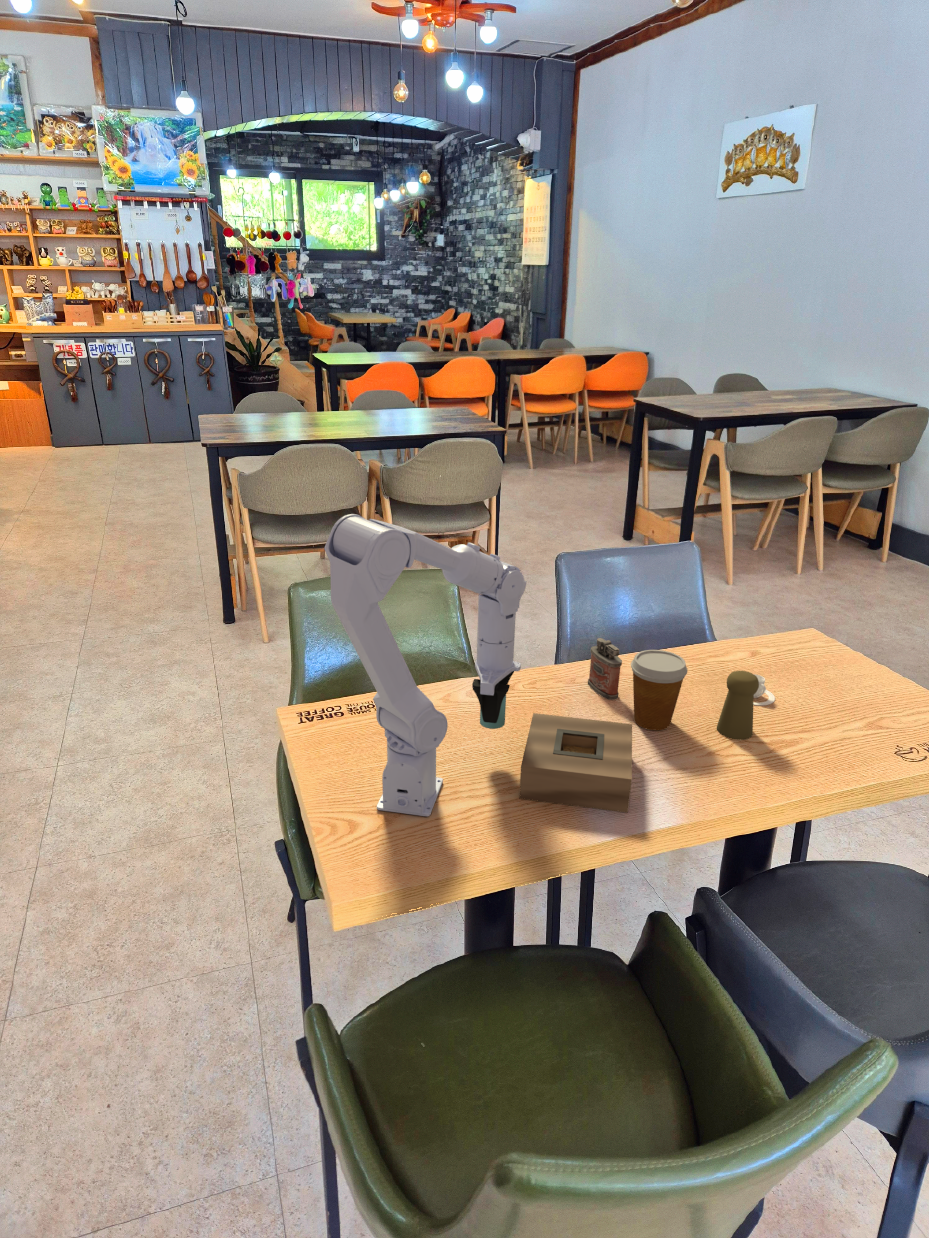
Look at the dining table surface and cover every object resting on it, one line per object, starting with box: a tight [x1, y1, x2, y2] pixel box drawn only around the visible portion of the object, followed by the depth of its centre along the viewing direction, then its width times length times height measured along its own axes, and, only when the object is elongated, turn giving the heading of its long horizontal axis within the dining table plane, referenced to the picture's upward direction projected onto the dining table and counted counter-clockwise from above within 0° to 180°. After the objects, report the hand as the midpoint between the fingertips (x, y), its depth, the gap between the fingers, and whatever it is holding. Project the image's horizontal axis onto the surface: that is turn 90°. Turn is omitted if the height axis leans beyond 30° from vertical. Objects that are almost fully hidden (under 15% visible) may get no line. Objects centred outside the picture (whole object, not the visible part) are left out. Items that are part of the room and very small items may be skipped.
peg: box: [479, 694, 507, 730], centre depth 131 cm, size 4×4×5 cm
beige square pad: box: [563, 745, 595, 754], centre depth 128 cm, size 5×5×1 cm
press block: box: [518, 712, 633, 814], centre depth 128 cm, size 16×16×6 cm
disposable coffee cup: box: [630, 649, 689, 731], centre depth 143 cm, size 10×10×12 cm
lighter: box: [587, 637, 623, 701], centre depth 154 cm, size 8×3×10 cm, turn 25°
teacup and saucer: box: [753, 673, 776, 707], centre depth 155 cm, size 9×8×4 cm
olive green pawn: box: [716, 670, 759, 741], centre depth 141 cm, size 6×6×11 cm
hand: (492, 714), depth 131 cm, fingers closed on peg, 4 cm apart
